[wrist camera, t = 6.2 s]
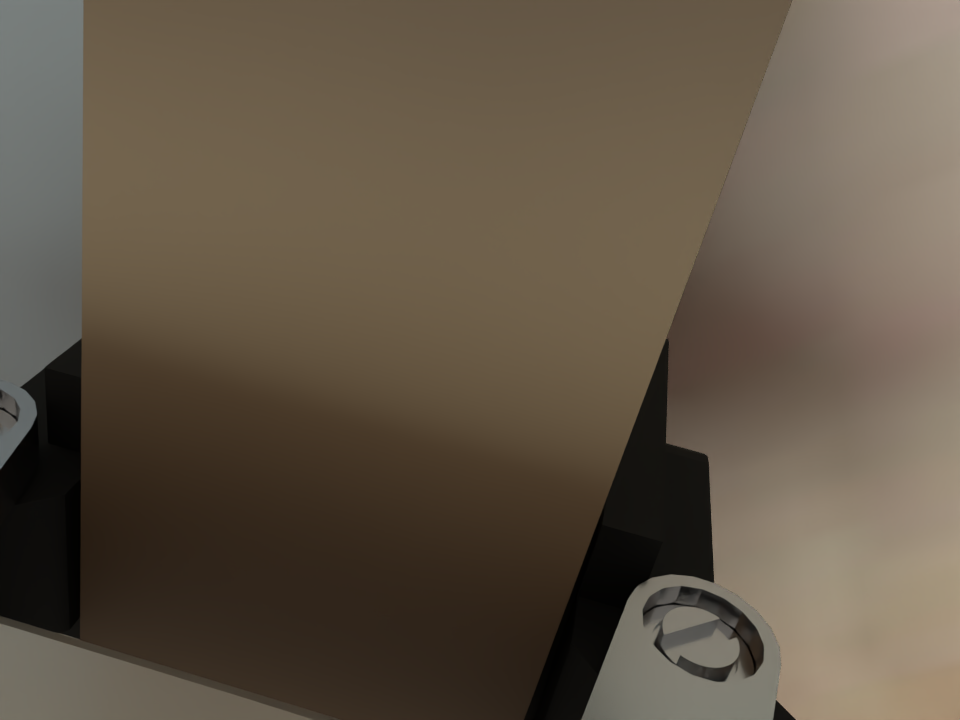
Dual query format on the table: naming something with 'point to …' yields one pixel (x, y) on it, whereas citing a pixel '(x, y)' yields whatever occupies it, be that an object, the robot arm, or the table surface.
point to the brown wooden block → (380, 323)
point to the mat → (40, 183)
